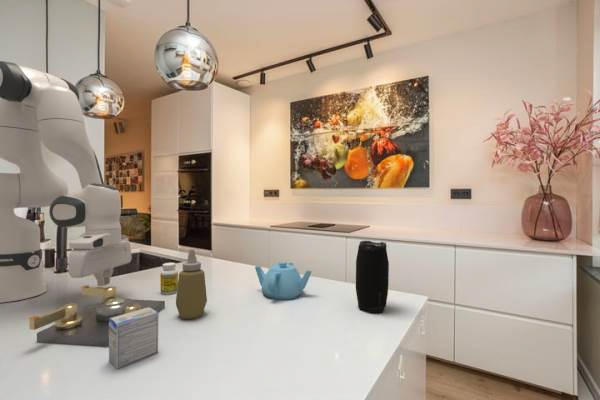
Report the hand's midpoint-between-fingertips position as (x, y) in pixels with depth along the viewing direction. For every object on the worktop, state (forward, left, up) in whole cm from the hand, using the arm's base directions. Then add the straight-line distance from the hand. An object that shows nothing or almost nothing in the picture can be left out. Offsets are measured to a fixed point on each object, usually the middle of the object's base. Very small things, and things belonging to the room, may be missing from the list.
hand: (103, 284), depth 87 cm
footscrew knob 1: (+5, -20, -4) cm, 21 cm away
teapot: (+51, +17, -6) cm, 54 cm away
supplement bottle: (+13, +13, -6) cm, 19 cm away
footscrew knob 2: (+3, -5, -4) cm, 7 cm away
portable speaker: (+79, +7, -6) cm, 80 cm away
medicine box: (+27, -25, -6) cm, 37 cm away
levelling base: (+11, -11, -6) cm, 17 cm away
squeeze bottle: (+29, -4, -6) cm, 30 cm away
